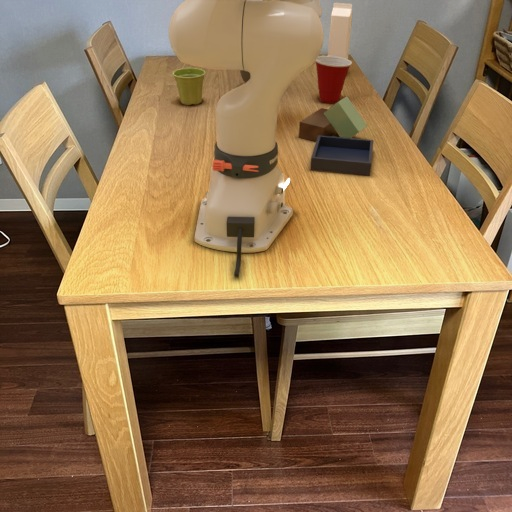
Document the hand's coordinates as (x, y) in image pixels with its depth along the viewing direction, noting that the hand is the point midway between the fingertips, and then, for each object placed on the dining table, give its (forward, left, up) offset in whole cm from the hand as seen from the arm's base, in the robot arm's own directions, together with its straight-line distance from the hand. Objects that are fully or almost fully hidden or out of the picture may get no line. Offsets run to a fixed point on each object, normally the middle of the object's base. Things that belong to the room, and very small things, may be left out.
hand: (303, 43), depth 134 cm
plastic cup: (+24, -6, -22) cm, 33 cm away
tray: (-17, -13, -22) cm, 31 cm away
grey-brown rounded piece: (+30, +16, -22) cm, 41 cm away
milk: (+51, -5, -22) cm, 56 cm away
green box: (-4, -12, -22) cm, 25 cm away
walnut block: (-2, -6, -22) cm, 23 cm away
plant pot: (+13, +34, -22) cm, 43 cm away
